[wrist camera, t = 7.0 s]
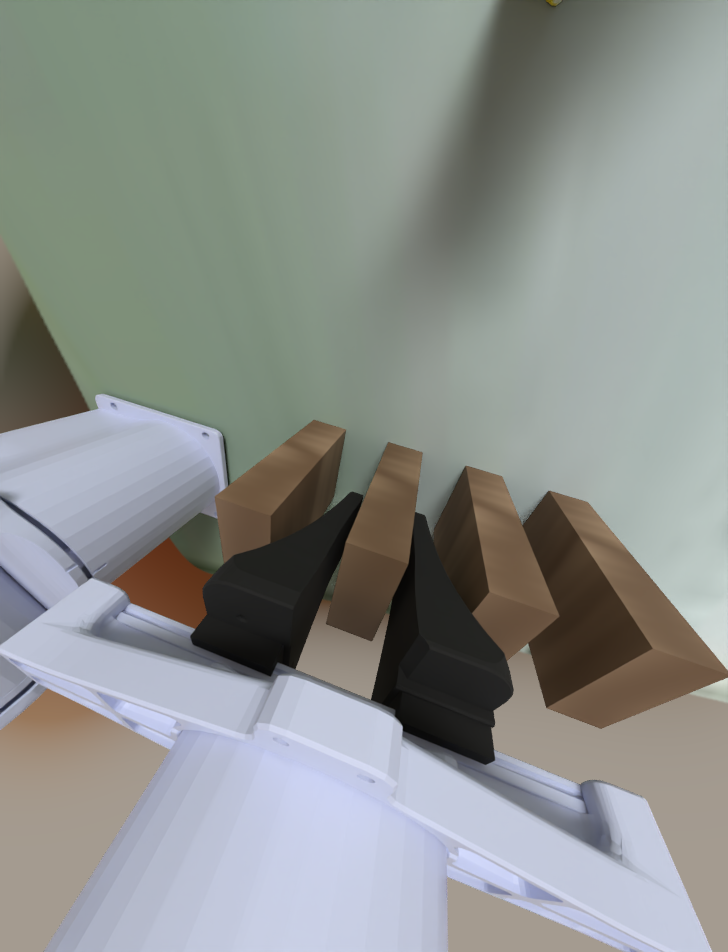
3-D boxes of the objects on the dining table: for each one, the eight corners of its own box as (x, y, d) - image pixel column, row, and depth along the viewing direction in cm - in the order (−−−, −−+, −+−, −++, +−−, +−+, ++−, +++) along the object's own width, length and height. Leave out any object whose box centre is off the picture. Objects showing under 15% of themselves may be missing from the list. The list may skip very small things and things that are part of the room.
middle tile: (434, 529, 17) (430, 664, 10) (465, 465, 14) (489, 592, 8) (464, 539, 17) (480, 682, 10) (502, 476, 14) (559, 616, 7)
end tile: (306, 487, 18) (227, 586, 11) (313, 419, 15) (214, 496, 8) (333, 496, 18) (269, 602, 11) (346, 429, 15) (270, 516, 8)
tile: (369, 508, 17) (325, 623, 11) (388, 442, 15) (345, 542, 8) (398, 517, 17) (371, 641, 10) (422, 452, 14) (408, 564, 8)
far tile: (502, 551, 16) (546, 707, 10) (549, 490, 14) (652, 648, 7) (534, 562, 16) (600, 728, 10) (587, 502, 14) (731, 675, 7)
